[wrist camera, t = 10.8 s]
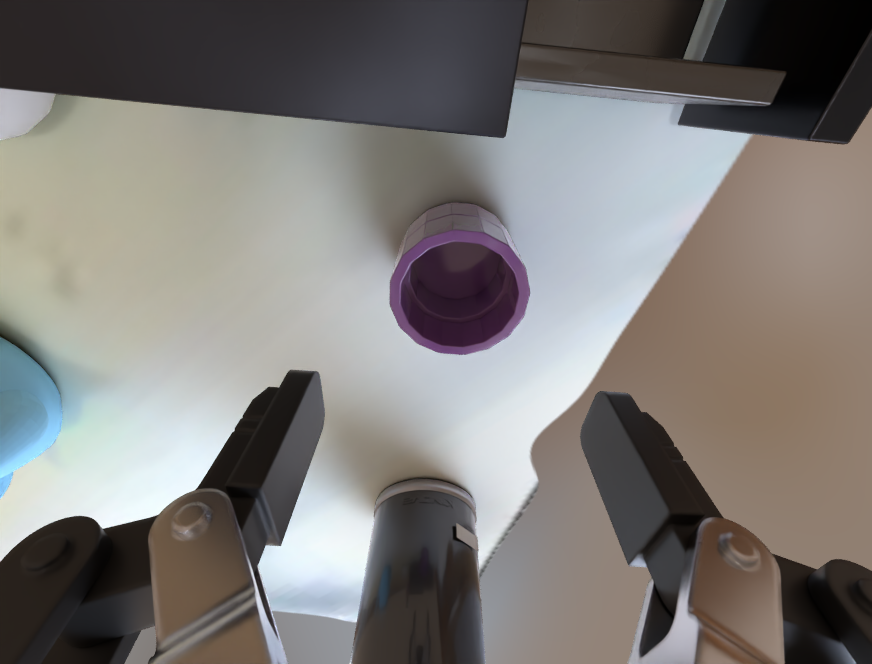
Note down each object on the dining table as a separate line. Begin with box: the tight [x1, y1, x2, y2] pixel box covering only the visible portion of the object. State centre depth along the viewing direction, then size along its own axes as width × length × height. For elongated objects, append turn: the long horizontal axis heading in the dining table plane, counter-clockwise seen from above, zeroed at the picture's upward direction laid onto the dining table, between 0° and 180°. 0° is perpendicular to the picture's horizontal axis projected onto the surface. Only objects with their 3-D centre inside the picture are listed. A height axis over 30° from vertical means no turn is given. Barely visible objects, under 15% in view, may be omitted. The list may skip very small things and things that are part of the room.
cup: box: [390, 202, 530, 355], centre depth 18 cm, size 6×6×5 cm
